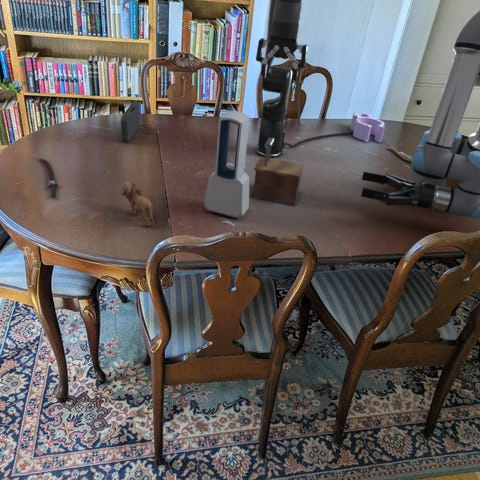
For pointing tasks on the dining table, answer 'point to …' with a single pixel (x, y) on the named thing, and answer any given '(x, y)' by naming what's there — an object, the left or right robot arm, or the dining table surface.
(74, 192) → the dining table surface
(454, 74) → the right robot arm
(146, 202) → the lion figurine
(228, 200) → the electronic device
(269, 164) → the lid
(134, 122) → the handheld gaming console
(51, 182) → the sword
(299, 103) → the miniature windmill
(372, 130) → the clip
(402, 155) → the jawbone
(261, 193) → the chest
